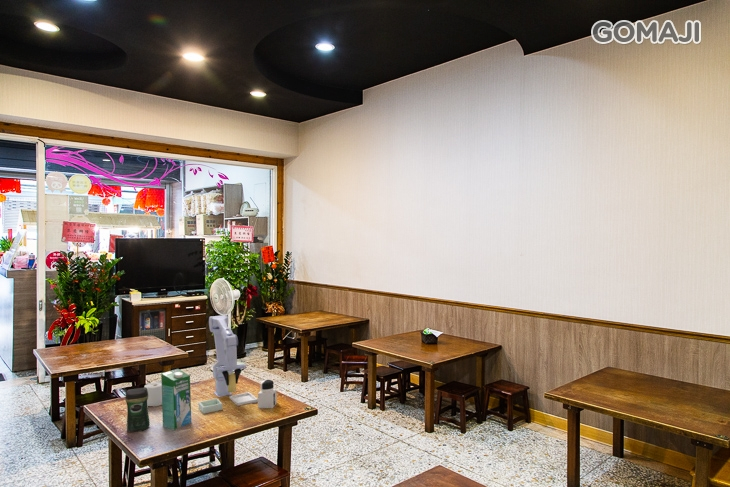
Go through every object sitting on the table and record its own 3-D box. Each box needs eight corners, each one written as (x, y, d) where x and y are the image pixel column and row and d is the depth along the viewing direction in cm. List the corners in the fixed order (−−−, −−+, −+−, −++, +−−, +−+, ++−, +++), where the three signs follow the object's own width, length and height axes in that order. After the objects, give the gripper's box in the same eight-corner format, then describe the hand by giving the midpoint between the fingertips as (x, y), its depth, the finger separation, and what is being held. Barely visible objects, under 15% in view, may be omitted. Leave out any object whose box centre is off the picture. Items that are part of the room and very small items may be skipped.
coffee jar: (150, 424, 223) (149, 385, 223) (148, 430, 216) (147, 390, 216) (127, 427, 220) (126, 387, 220) (125, 433, 213) (123, 392, 213)
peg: (227, 390, 249) (226, 373, 249) (234, 389, 251) (234, 372, 251) (229, 392, 245) (228, 375, 245) (236, 391, 247) (236, 374, 247)
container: (277, 403, 247) (276, 378, 247) (272, 408, 240) (272, 383, 240) (262, 403, 248) (262, 378, 248) (257, 408, 240) (257, 383, 240)
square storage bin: (198, 408, 242) (198, 402, 242) (217, 405, 247) (217, 398, 247) (203, 414, 234) (202, 407, 234) (222, 410, 239) (222, 403, 239)
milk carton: (174, 430, 215) (173, 375, 215) (162, 426, 220) (161, 373, 220) (191, 423, 223) (190, 370, 223) (179, 419, 228) (177, 368, 227)
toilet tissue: (147, 408, 244) (147, 389, 244) (141, 402, 254) (141, 384, 254) (169, 403, 251) (168, 384, 251) (162, 397, 261) (162, 379, 260)
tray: (229, 399, 255) (229, 395, 255) (249, 395, 261) (249, 392, 261) (237, 406, 244) (237, 403, 244) (257, 402, 249) (257, 399, 249)
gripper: (219, 362, 241) (219, 388, 241) (247, 357, 248) (247, 383, 248) (215, 359, 247) (216, 385, 247) (243, 355, 254) (243, 380, 255)
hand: (231, 384), depth 248 cm, fingers closed on peg, 4 cm apart
